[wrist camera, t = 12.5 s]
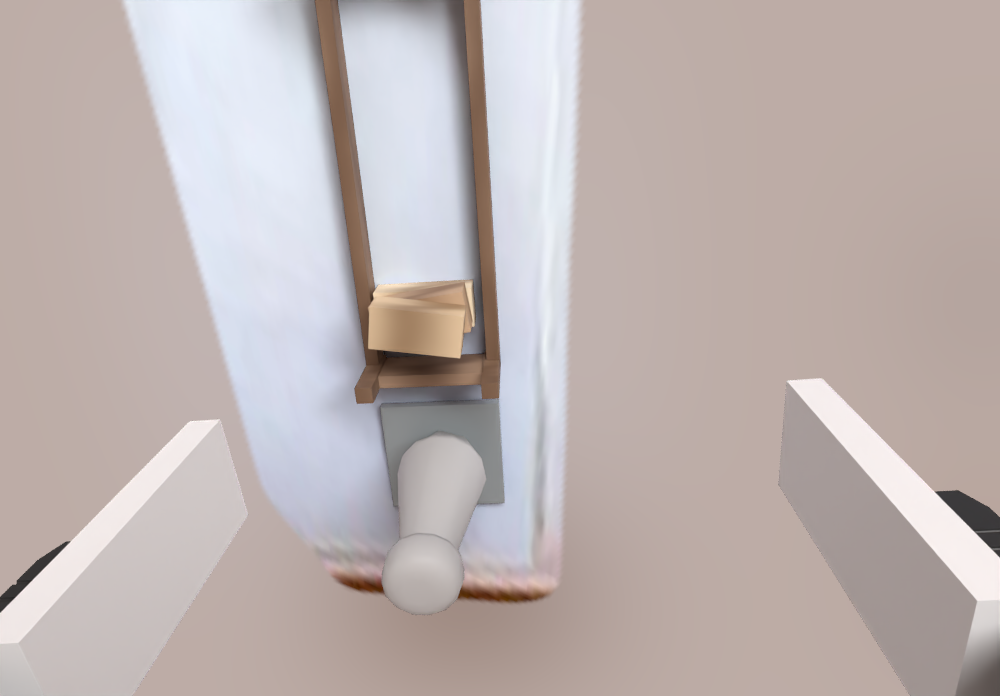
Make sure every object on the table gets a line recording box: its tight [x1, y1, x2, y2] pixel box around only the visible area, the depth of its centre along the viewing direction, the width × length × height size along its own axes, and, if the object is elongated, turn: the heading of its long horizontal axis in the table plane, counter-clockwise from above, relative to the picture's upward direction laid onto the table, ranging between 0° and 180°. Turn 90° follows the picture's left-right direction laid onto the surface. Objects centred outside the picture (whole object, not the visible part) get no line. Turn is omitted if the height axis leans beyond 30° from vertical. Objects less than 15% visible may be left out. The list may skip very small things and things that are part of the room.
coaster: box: [380, 399, 505, 506], centre depth 45 cm, size 8×8×1 cm
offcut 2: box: [368, 282, 473, 333], centre depth 39 cm, size 6×2×2 cm, turn 101°
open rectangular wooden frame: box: [315, 0, 501, 404], centre depth 36 cm, size 8×25×5 cm, turn 3°
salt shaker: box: [382, 430, 486, 615], centre depth 39 cm, size 6×6×13 cm
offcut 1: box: [373, 279, 476, 327], centre depth 41 cm, size 6×2×2 cm, turn 94°
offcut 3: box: [368, 296, 466, 358], centre depth 37 cm, size 5×2×2 cm, turn 84°
